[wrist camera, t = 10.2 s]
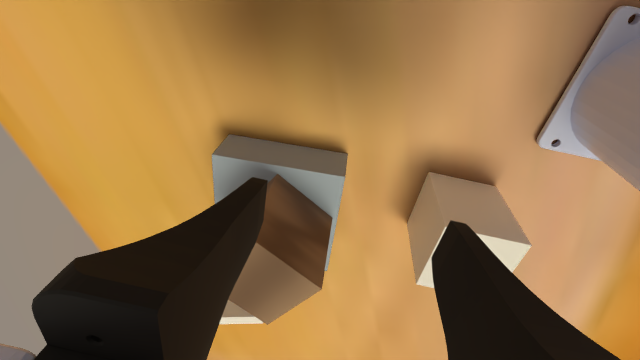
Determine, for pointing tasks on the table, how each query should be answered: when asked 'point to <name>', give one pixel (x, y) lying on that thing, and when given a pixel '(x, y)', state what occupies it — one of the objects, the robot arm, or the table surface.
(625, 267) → the table surface
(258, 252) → the walnut block
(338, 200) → the base block
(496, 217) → the off-white block
